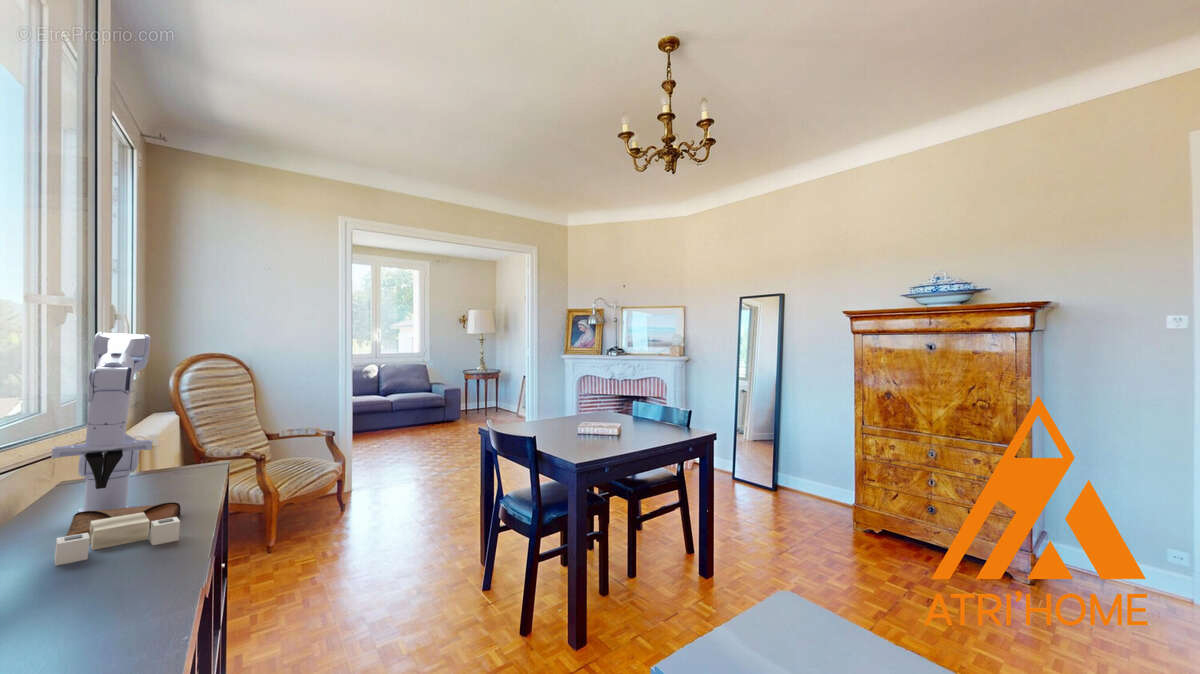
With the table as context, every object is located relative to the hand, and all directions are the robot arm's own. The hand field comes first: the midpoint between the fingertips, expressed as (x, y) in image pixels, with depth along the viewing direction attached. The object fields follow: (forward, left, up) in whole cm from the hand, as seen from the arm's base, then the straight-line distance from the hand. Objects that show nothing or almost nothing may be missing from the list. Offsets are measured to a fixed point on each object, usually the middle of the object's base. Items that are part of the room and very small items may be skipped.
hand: (100, 487), depth 98 cm
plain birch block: (+4, +3, -11) cm, 12 cm away
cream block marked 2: (+11, +9, -10) cm, 18 cm away
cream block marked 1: (+11, -4, -10) cm, 16 cm away
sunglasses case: (-5, +5, -11) cm, 13 cm away
